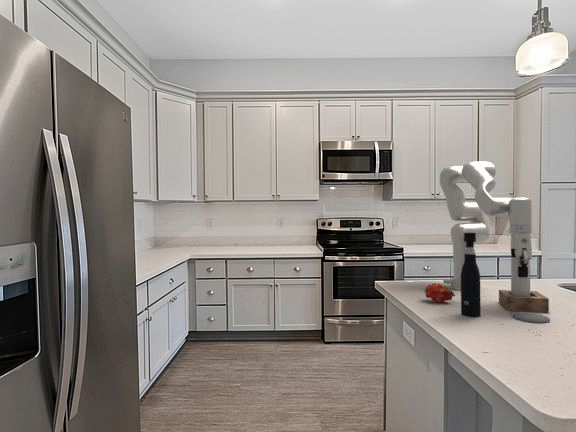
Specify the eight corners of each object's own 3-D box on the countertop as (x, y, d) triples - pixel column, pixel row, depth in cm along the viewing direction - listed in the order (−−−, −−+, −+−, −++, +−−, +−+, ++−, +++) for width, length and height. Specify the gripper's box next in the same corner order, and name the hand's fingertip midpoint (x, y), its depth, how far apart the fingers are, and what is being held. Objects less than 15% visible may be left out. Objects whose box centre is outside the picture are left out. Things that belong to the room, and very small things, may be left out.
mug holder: (507, 310, 138) (507, 296, 138) (499, 301, 150) (498, 289, 150) (548, 312, 134) (548, 298, 134) (536, 303, 146) (536, 291, 146)
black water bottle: (479, 313, 135) (478, 232, 134) (482, 318, 129) (481, 233, 128) (460, 311, 137) (459, 232, 136) (462, 316, 131) (461, 233, 130)
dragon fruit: (423, 303, 156) (452, 311, 149) (419, 295, 150) (450, 303, 143) (428, 285, 160) (458, 292, 153) (425, 276, 154) (455, 284, 147)
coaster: (517, 322, 124) (517, 320, 124) (508, 313, 134) (508, 311, 134) (555, 324, 120) (555, 322, 120) (543, 314, 131) (543, 313, 131)
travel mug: (506, 297, 145) (506, 247, 145) (522, 297, 146) (522, 247, 145) (517, 301, 139) (517, 249, 138) (534, 301, 140) (534, 249, 139)
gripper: (539, 231, 132) (539, 280, 133) (523, 228, 149) (523, 271, 149) (515, 231, 134) (515, 279, 135) (503, 228, 151) (503, 271, 151)
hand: (520, 274), depth 142 cm, fingers closed on travel mug, 6 cm apart
